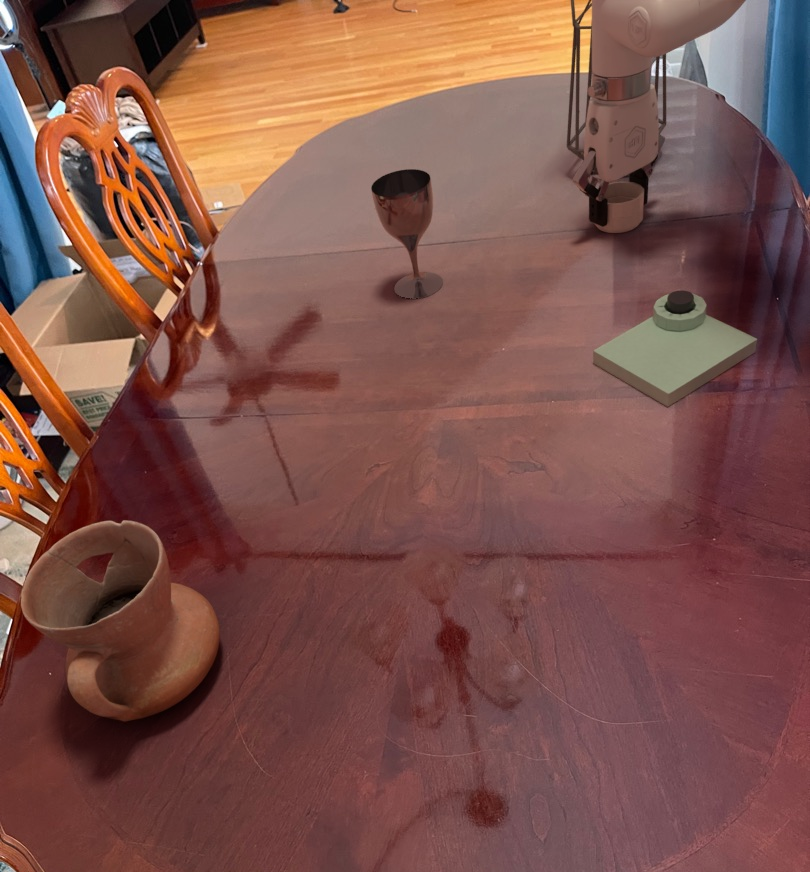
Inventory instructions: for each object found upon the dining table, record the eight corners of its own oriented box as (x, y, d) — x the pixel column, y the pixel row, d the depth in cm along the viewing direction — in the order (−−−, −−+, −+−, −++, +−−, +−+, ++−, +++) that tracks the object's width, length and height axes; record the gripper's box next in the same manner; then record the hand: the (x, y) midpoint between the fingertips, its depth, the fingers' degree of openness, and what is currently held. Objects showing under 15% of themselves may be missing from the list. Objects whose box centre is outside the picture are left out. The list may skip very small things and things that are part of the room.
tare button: (679, 298, 99) (680, 287, 98) (698, 307, 97) (699, 296, 96) (661, 309, 98) (662, 297, 97) (680, 318, 97) (681, 306, 95)
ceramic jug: (115, 599, 85) (50, 503, 75) (246, 594, 83) (197, 494, 72) (50, 756, 73) (-38, 669, 63) (201, 757, 71) (134, 665, 60)
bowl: (618, 206, 124) (619, 177, 120) (652, 220, 119) (654, 189, 116) (583, 224, 122) (583, 195, 118) (617, 239, 117) (617, 209, 114)
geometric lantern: (584, 143, 140) (582, -110, 115) (677, 145, 134) (697, -123, 109) (554, 185, 132) (544, -79, 106) (652, 190, 125) (667, -91, 100)
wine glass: (421, 265, 121) (404, 164, 111) (457, 281, 117) (443, 177, 106) (380, 289, 119) (359, 188, 108) (415, 306, 114) (396, 202, 103)
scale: (676, 311, 103) (679, 286, 100) (758, 350, 95) (762, 325, 92) (590, 362, 99) (590, 337, 96) (667, 407, 91) (669, 382, 88)
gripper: (590, 112, 102) (591, 244, 115) (691, 64, 106) (680, 197, 119) (551, 99, 106) (555, 228, 119) (649, 55, 111) (643, 183, 124)
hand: (618, 211), depth 119 cm, fingers closed on bowl, 7 cm apart
